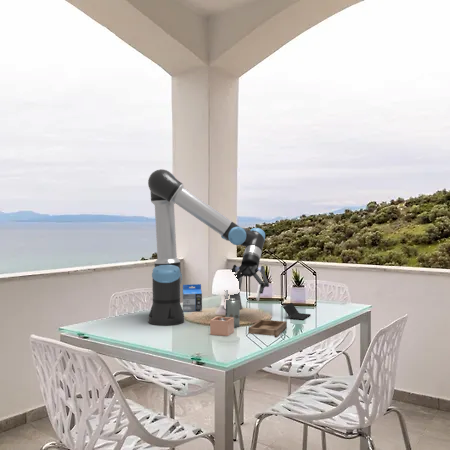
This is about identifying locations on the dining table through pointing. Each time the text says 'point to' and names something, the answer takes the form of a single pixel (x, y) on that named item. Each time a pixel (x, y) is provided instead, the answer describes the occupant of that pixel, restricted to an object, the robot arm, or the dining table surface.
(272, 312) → the dining table surface
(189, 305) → the label tape box
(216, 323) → the terracotta square pot
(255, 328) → the brown wooden tray
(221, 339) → the dining table surface
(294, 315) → the handheld gaming console
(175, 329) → the dining table surface
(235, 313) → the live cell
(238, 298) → the coffeepot
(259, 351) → the dining table surface
